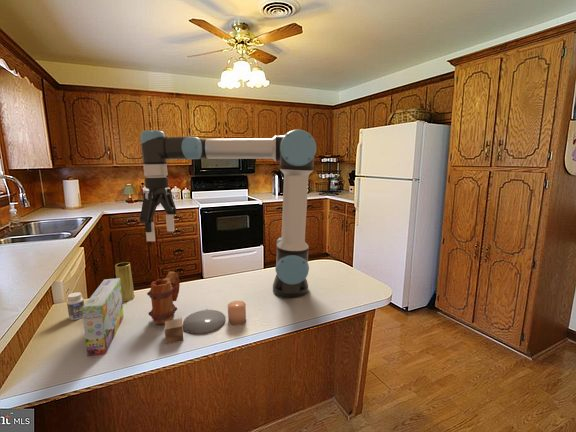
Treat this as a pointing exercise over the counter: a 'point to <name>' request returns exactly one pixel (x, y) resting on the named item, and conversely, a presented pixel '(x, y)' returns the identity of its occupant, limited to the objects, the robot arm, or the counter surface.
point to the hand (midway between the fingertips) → (161, 235)
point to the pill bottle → (75, 305)
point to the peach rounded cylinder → (236, 312)
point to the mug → (164, 297)
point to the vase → (125, 280)
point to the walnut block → (174, 331)
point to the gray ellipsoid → (204, 321)
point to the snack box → (102, 316)
